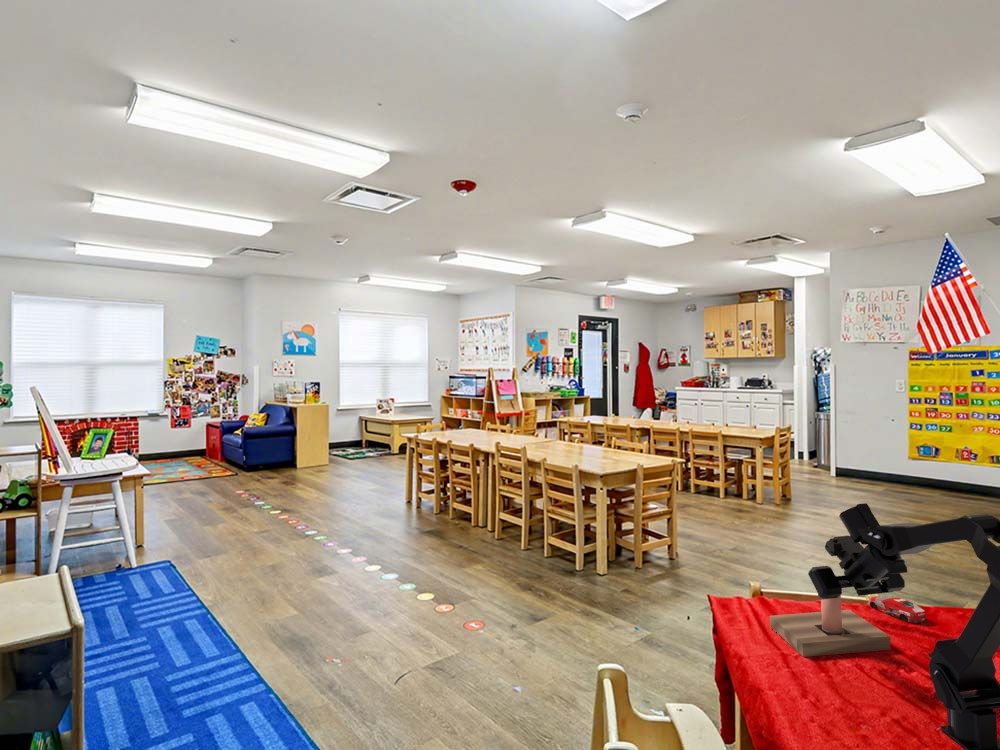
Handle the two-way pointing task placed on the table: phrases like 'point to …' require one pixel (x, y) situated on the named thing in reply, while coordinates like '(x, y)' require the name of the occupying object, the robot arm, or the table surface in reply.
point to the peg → (831, 616)
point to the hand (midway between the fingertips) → (838, 595)
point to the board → (813, 642)
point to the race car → (899, 608)
